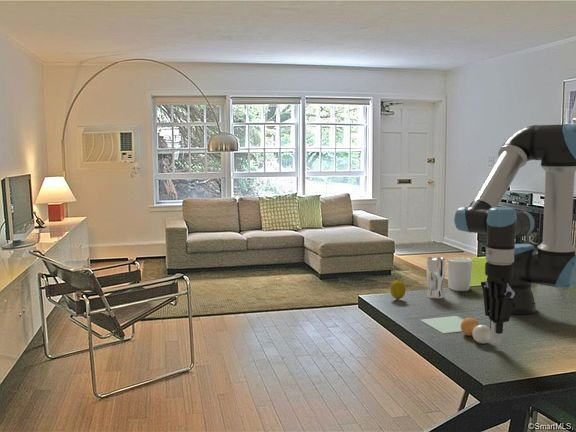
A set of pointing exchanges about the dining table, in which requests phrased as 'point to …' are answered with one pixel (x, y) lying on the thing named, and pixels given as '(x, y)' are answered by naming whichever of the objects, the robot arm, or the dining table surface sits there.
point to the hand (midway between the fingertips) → (495, 342)
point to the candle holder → (459, 273)
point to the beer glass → (435, 277)
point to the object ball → (468, 326)
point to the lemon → (397, 289)
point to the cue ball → (481, 334)
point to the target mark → (445, 324)
